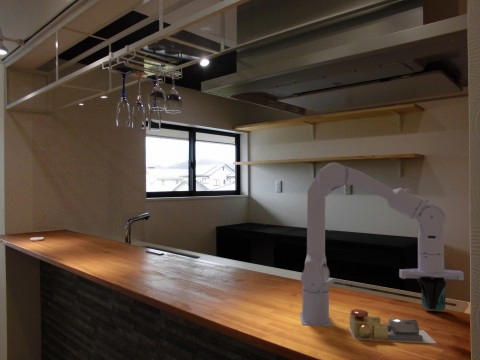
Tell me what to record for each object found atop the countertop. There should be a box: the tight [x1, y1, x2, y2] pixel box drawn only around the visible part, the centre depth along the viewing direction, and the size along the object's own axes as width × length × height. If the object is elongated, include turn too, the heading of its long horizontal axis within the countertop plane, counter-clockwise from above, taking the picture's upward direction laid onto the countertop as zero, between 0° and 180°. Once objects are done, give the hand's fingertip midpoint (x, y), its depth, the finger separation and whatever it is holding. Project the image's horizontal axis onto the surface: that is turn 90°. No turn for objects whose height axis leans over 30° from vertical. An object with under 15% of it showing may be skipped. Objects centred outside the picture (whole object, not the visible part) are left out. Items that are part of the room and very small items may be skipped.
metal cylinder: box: [387, 318, 420, 335], centre depth 91 cm, size 4×6×4 cm, turn 84°
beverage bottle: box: [420, 259, 447, 312], centre depth 110 cm, size 6×7×20 cm
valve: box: [349, 308, 389, 342], centre depth 92 cm, size 10×8×5 cm
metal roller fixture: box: [347, 323, 437, 344], centre depth 92 cm, size 8×19×2 cm, turn 84°
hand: (431, 308), depth 91 cm, fingers closed
